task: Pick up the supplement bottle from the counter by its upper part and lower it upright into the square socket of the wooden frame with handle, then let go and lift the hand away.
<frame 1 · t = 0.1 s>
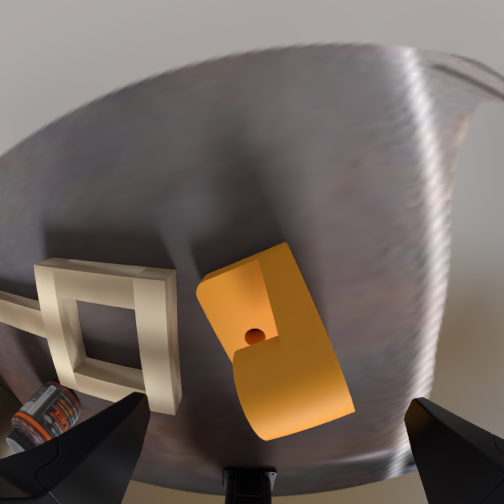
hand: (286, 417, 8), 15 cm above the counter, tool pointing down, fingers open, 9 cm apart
bracket: (267, 316, 23), on the counter
supplement bottle: (64, 396, 26), on the counter
pillar candle: (12, 406, 28), on the counter
wooden frame with handle: (113, 330, 23), on the counter
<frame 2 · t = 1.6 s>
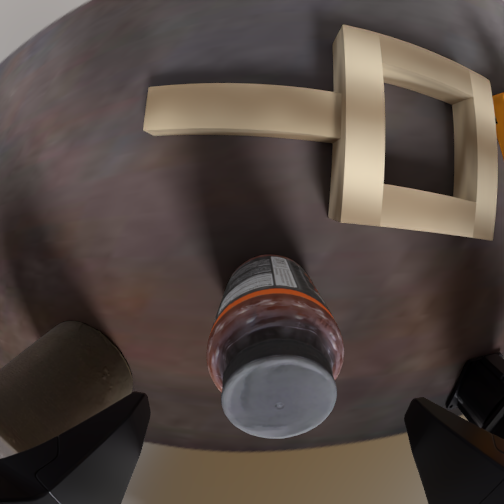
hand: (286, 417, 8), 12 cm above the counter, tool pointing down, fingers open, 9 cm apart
supplement bottle: (269, 292, 20), on the counter
pillar candle: (88, 365, 22), on the counter
wooden frame with handle: (415, 139, 17), on the counter
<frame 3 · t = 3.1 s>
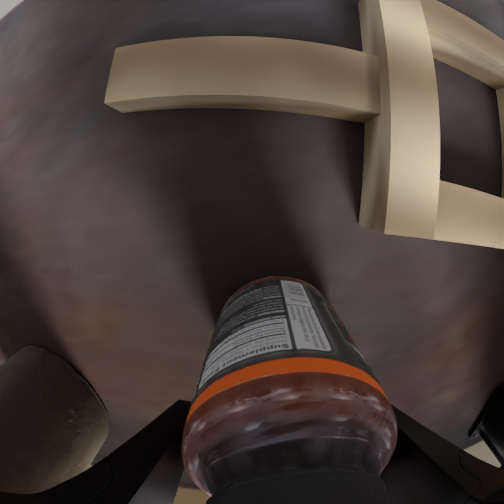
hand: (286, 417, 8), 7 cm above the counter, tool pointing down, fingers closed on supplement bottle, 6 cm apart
supplement bottle: (276, 325, 14), on the counter, touching gripper
pillar candle: (59, 395, 16), on the counter
wooden frame with handle: (461, 126, 12), on the counter
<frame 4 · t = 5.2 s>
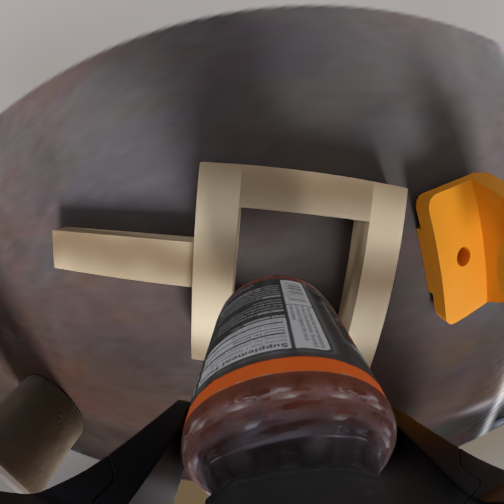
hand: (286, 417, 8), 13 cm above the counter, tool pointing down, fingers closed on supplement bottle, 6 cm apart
bracket: (452, 244, 20), on the counter
supplement bottle: (275, 325, 14), point 6 cm above the counter, touching gripper
pillar candle: (53, 404, 25), on the counter
wooden frame with handle: (293, 267, 20), on the counter
when the fingers open (8 cm above the counter, at t = 7.7 s): supplement bottle drops 1 cm, resting in wooden frame with handle.
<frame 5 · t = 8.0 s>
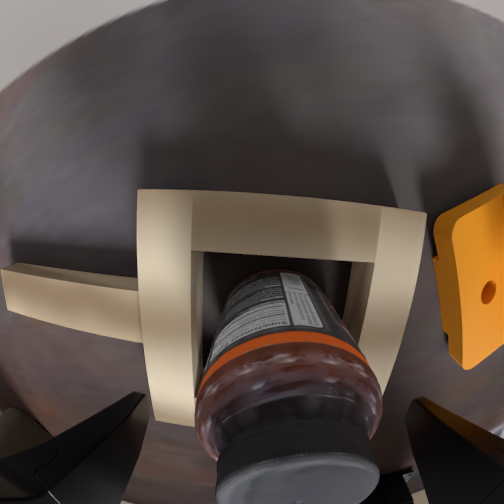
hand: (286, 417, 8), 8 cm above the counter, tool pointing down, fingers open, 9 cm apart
bracket: (473, 272, 15), on the counter
supplement bottle: (276, 314, 16), resting in wooden frame with handle
pillar candle: (35, 435, 20), on the counter
wooden frame with handle: (274, 314, 16), on the counter
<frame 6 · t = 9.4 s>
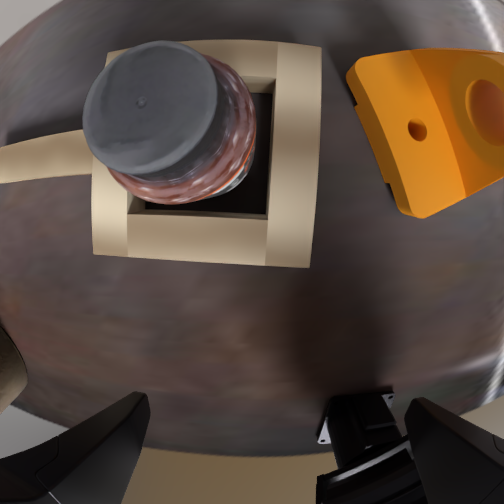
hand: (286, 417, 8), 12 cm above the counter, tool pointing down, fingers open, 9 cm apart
bracket: (408, 131, 17), on the counter
supplement bottle: (208, 151, 17), resting in wooden frame with handle
pillar candle: (2, 354, 22), on the counter
wooden frame with handle: (206, 149, 17), on the counter
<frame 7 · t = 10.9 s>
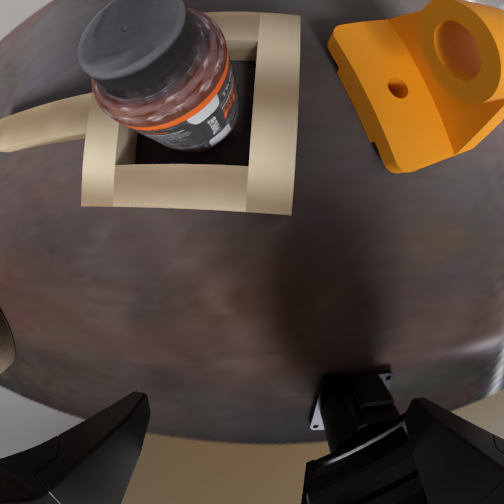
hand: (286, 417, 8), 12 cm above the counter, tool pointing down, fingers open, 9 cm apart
bracket: (392, 96, 17), on the counter
supplement bottle: (196, 112, 17), resting in wooden frame with handle
wooden frame with handle: (194, 110, 17), on the counter
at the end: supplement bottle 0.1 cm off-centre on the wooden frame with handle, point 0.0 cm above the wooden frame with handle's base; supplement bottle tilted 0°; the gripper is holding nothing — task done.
